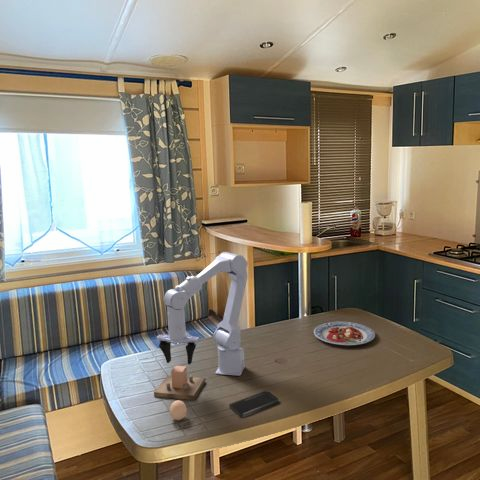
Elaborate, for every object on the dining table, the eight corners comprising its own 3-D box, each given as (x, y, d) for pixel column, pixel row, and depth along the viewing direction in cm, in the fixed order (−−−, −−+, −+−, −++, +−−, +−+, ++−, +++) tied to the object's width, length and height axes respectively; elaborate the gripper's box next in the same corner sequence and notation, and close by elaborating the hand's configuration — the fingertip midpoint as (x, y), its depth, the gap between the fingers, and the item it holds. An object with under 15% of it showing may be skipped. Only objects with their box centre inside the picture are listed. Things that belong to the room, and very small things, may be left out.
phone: (280, 400, 138) (240, 415, 131) (280, 403, 138) (240, 419, 131) (266, 390, 145) (227, 404, 137) (266, 393, 145) (227, 407, 137)
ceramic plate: (313, 325, 203) (313, 319, 202) (369, 326, 199) (370, 320, 199) (314, 348, 178) (314, 342, 177) (379, 350, 174) (379, 343, 174)
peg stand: (204, 382, 153) (204, 372, 153) (193, 400, 142) (193, 390, 141) (168, 379, 157) (167, 370, 156) (154, 396, 145) (153, 386, 145)
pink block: (187, 382, 150) (186, 366, 149) (183, 388, 147) (182, 371, 146) (176, 381, 151) (175, 365, 150) (172, 387, 148) (171, 371, 147)
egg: (189, 421, 130) (187, 403, 129) (172, 425, 128) (170, 407, 127) (185, 412, 135) (183, 395, 134) (168, 416, 133) (167, 398, 132)
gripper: (151, 328, 144) (155, 366, 146) (193, 330, 141) (195, 369, 143) (160, 320, 151) (163, 357, 153) (200, 322, 148) (202, 359, 150)
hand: (179, 362), depth 149 cm, fingers open, 7 cm apart
